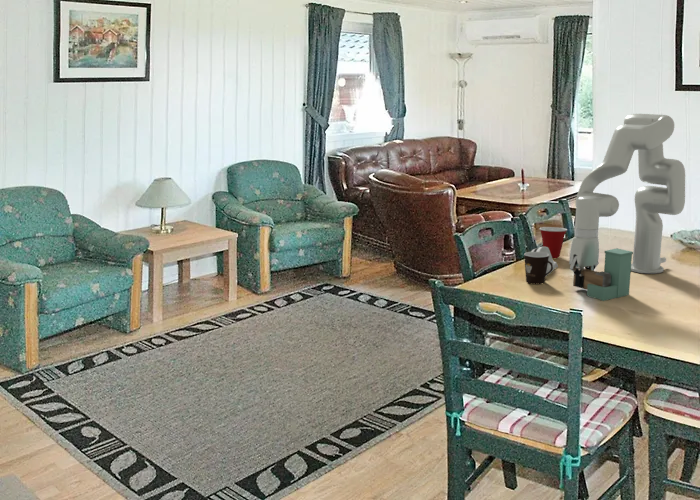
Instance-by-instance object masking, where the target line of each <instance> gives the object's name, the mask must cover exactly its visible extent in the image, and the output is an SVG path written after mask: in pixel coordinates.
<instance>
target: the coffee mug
mask: <svg viewBox="0 0 700 500" xmlns="http://www.w3.org/2000/svg"><path fill="white" fill-rule="evenodd" d="M523 256H524V257H523V258H524V270H525V271H524V272H525V281H526V283H527V282H528V284H530V283H532V285H541V284H542V283H543V284H545V283H546V275H548V274H549V273H550V272H551V271H552V270H553V265H552V263H551V262H550V261H548V259H549V254H547V253H543V252H531V251H528V252H527V251H526V252H525V253H524V254H523ZM548 263H549V264H550V265H551V270H550V271H549V272H548V273H546V271H547V265H548ZM550 274H551V273H550ZM550 274H549V275H550ZM549 275H548V276H549Z"/></svg>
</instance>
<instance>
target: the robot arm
mask: <svg viewBox="0 0 700 500" xmlns="http://www.w3.org/2000/svg"><path fill="white" fill-rule="evenodd" d="M674 130H675V122H674V119H673V117H671V116H670V115H666V114H650V113H631V114H629V115H627V116H625V118H624V120H623V124H621V125H619V126H617V127H616V128H615V129H614V132H613V133H612V136H611V140H610V142H609V145H608V147H607V150H606V152H605V156H604V157H603V160H602V162H601V164H599V165H598V166H596V167H595V168H594V169H593V170H591V172H589V173H588V174H587V175H586V176H585V177H584V178H583V181H582V182H581V184H580V186H579V189H578V192H577V195H576V197H575V221H574V222H575V223H574V224H575V225H574V236H573V238H572V241H571V245H570V251H569V252H570V253H569V259H568V260H569V265H570V267H569V270H570V271H572V272H573V276H574V275H575V286H577V287H576V288H579V287H580V288H579V289H582V288H583V286H584V276H583V271H584V268H585V269H589V270H593V271H595V269H596V267H598V265H599V263H600V262H599V259H600V258H599V257H600V245H599V244H600V243H599V242H600V241H599V222H600V218H602V217H604V218H607V217H608V218H609V217H612V216H614V215H615V214H616V213H617V212H618V211H619V207H620V203H619V202H620V201H619V199H618V198H617V197H616V196H614V195H611V194H608V193H607V194H606V193H599V192H594V191H595V189H596V188H597V187H598V186H599V185H600V184H602V183H603V182H605V181H607V180H609V179H613V178H615V177H618V176H621V175H623V174H625V173H626V172H627V171H628V169H629V166H630V163H631V160H632V158H633V156H634V155H633V154H634V153H635V151H637V156H638V163H637V164H638V165H637V166H638V176H639V177H638V178H639V180H640V181H641V182H642V183H646V184H651V185H643V186H641V187H639V188H637V190H636V191H635V194H634V208H635V226H634V241H633V251H632V252H633V254H632V263H631V272H635V273H638V274H639V273H640V274H649V275H653V274H654V275H655V274H661V273H663V272H664V271H665V270H664V267H663V266H661V264H662V263H666V262H667V258H666V257H665V256H664V257H661V253H662V252H661V251H662V239H663V238H662V237H663V229H664V225H663V220H662V218H661V216H660V214H662V215H663V214H664V215H670V216H675V215H676V216H678V215H679V214H681V213H682V212H683V210H684V208H685V204H686V169H685V166H684V164H683V163H682V162H681V160H679V159H674V158H665V156H664V143H665V142H666V141H668V140H669V139H670V138H671V137H672V135H673V133H674ZM653 185H660V186H653ZM663 186H666V187H663ZM579 269H580V271H579ZM575 286H574V287H575Z"/></svg>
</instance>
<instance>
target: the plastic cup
mask: <svg viewBox="0 0 700 500" xmlns="http://www.w3.org/2000/svg"><path fill="white" fill-rule="evenodd" d="M539 231H540V236H541V243H542V247H548V248H549V250H550V253H551V256H552V258H556V259H559V258H560V256H561V251H562V248H563V243H564V239H565V236H566V233H567V231H568V229H567V228H564V227H558V226H557V227H553V226H552V227H550V226H543V227H539ZM558 257H559V258H558Z"/></svg>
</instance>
